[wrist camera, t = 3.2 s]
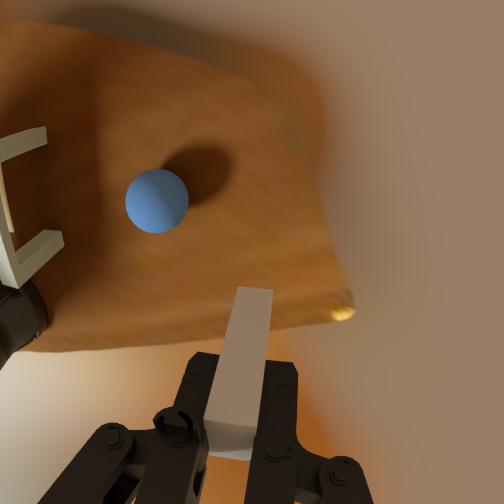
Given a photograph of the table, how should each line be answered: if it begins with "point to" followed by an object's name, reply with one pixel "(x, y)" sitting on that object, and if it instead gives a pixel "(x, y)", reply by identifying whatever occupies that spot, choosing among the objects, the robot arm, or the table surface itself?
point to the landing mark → (5, 203)
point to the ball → (157, 201)
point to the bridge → (3, 254)
